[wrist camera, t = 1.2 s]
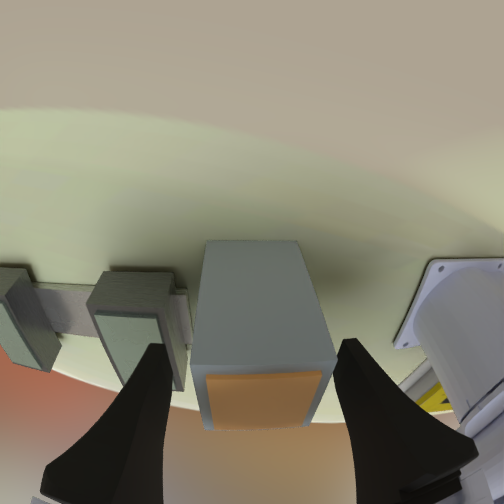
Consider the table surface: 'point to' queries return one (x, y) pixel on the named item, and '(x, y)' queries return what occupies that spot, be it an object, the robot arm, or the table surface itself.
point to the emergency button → (425, 389)
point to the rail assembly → (96, 318)
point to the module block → (258, 338)
